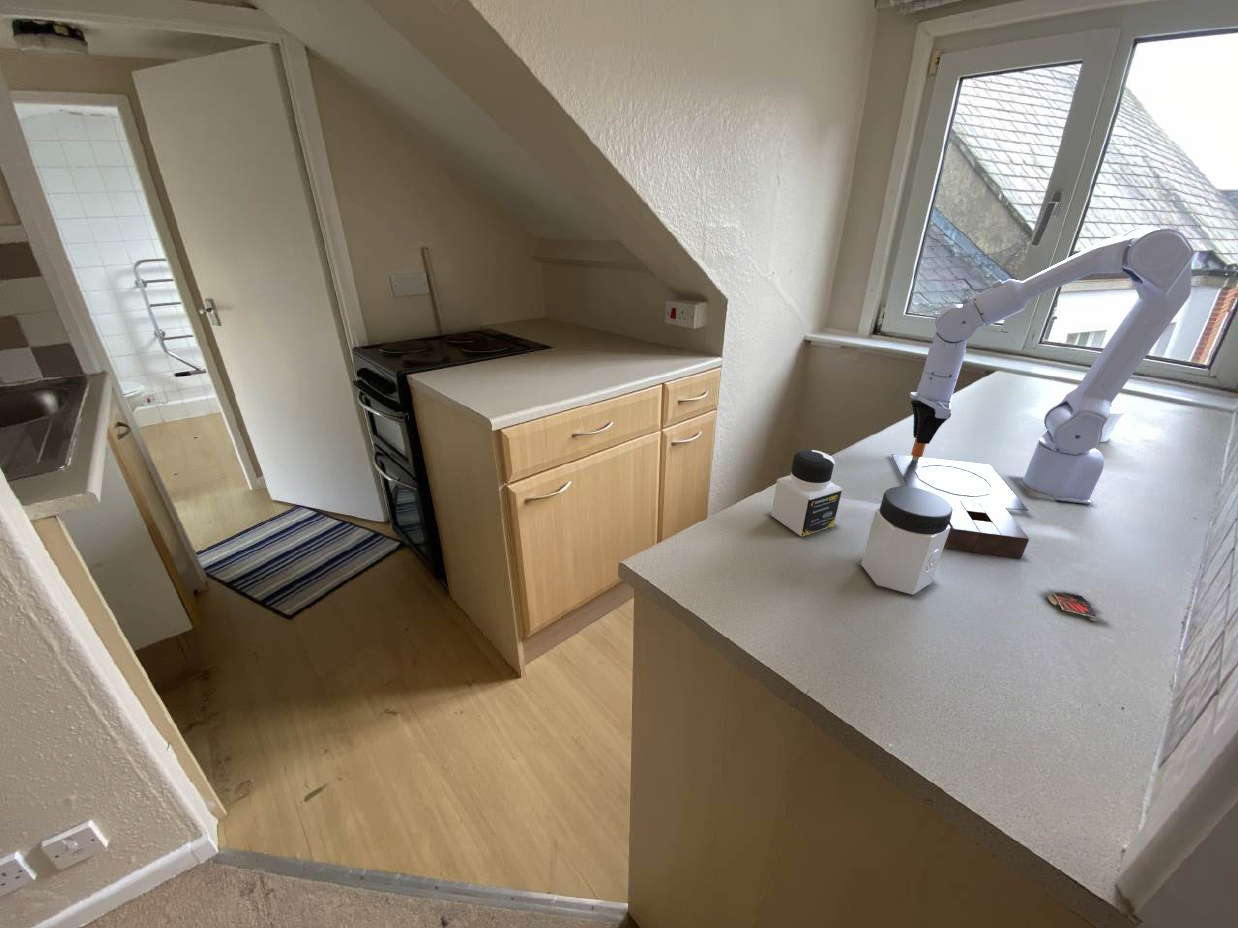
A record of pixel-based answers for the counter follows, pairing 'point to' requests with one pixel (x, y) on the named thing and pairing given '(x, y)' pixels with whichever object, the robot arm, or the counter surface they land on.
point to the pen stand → (984, 529)
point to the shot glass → (1111, 422)
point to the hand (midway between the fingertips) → (920, 440)
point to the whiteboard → (957, 480)
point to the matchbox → (1073, 604)
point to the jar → (907, 539)
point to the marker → (917, 450)
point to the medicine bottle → (807, 494)
